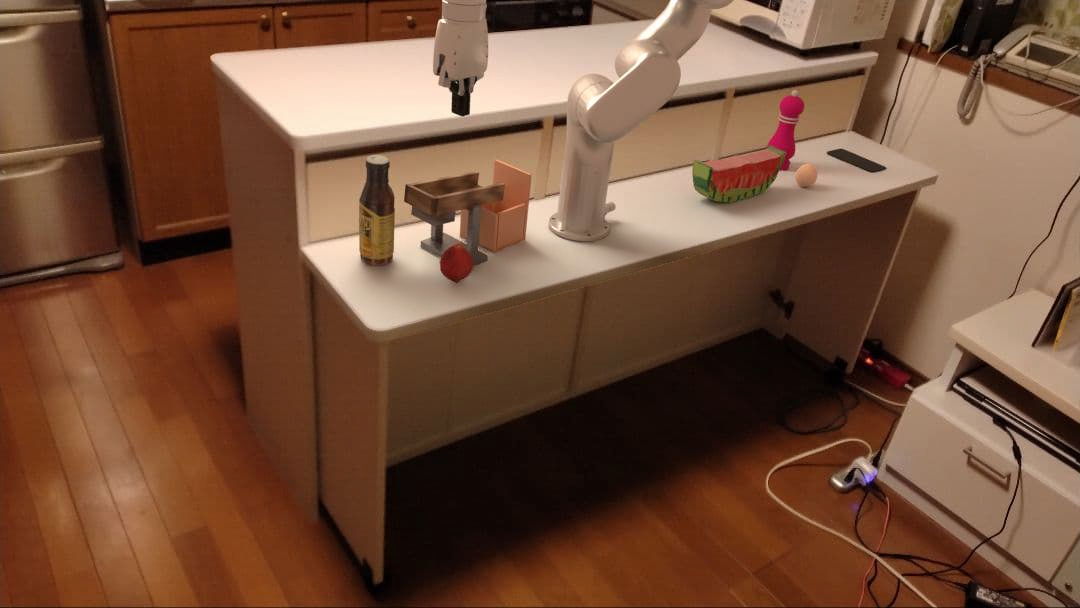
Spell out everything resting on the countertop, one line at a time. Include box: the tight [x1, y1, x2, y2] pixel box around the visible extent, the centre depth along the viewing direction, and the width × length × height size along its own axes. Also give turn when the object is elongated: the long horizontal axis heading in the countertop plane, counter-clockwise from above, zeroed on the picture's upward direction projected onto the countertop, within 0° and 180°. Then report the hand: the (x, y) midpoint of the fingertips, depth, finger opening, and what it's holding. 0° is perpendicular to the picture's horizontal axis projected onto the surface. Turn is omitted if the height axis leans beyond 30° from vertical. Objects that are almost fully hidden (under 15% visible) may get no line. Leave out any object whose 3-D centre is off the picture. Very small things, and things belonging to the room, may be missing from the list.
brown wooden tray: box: [403, 170, 505, 226], centre depth 153 cm, size 18×12×6 cm, turn 139°
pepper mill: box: [765, 89, 805, 171], centre depth 211 cm, size 7×7×20 cm
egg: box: [795, 162, 818, 188], centre depth 204 cm, size 5×5×6 cm
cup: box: [459, 159, 533, 254], centre depth 162 cm, size 9×9×14 cm
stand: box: [420, 203, 489, 268], centre depth 155 cm, size 6×12×12 cm, turn 49°
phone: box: [826, 148, 887, 173], centre depth 226 cm, size 7×1×15 cm
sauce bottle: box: [358, 154, 396, 266], centre depth 148 cm, size 7×6×20 cm
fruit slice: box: [691, 145, 786, 204], centre depth 193 cm, size 26×6×10 cm, turn 126°
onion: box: [439, 241, 474, 284], centre depth 147 cm, size 6×6×8 cm
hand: (460, 113), depth 155 cm, fingers closed
